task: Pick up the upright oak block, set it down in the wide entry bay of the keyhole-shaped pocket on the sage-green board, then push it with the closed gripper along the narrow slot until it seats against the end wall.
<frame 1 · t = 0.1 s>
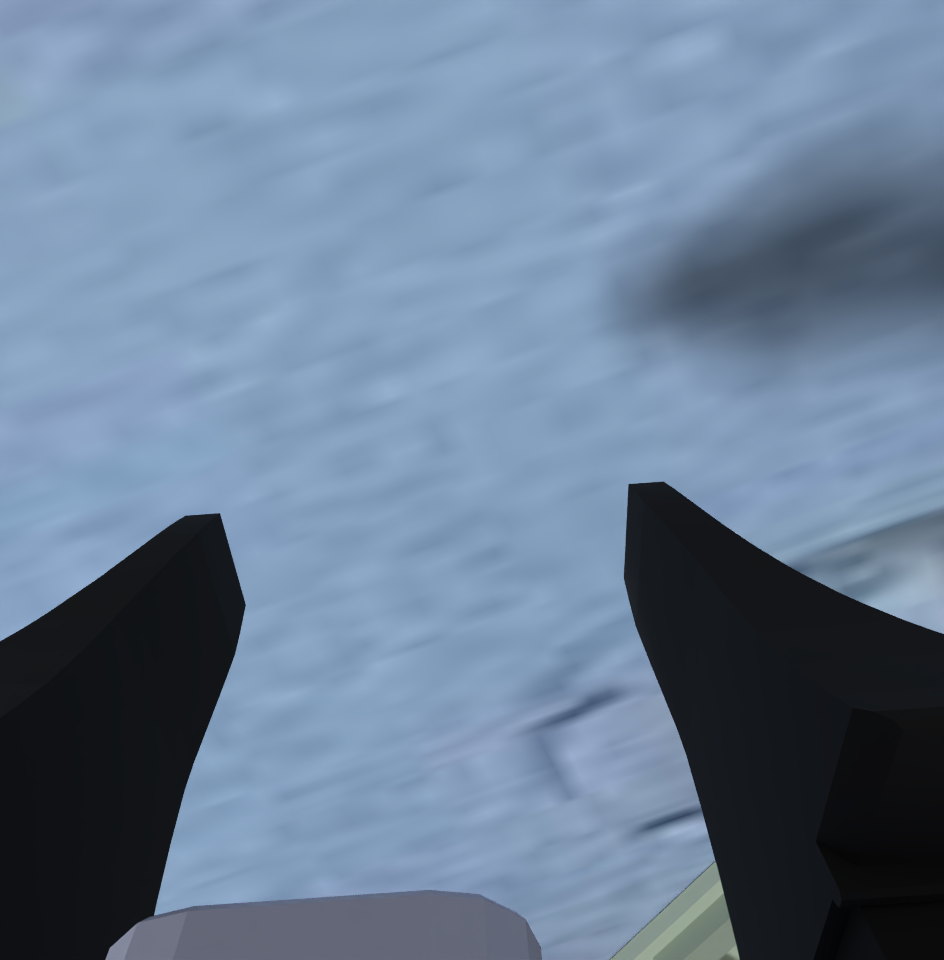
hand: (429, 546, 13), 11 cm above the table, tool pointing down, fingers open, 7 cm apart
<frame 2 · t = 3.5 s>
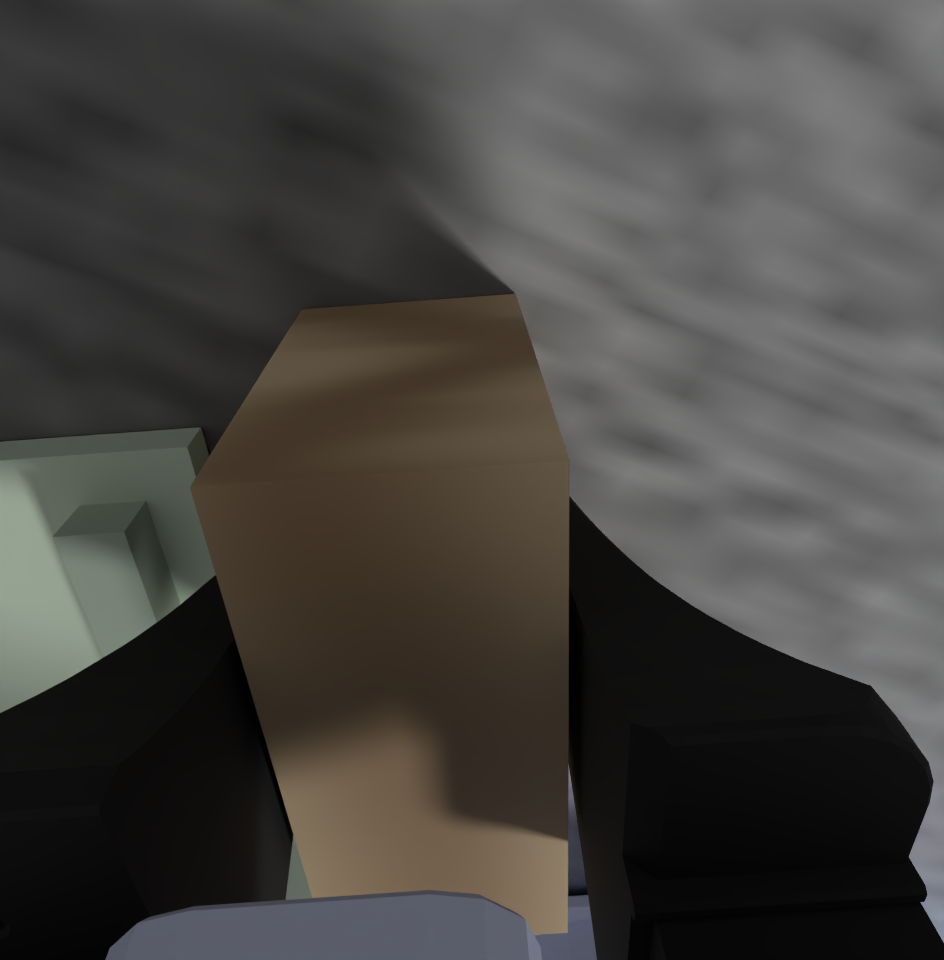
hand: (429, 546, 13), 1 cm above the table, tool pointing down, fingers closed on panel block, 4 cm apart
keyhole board: (62, 805, 18), on the table
panel block: (430, 504, 14), on the table, touching gripper
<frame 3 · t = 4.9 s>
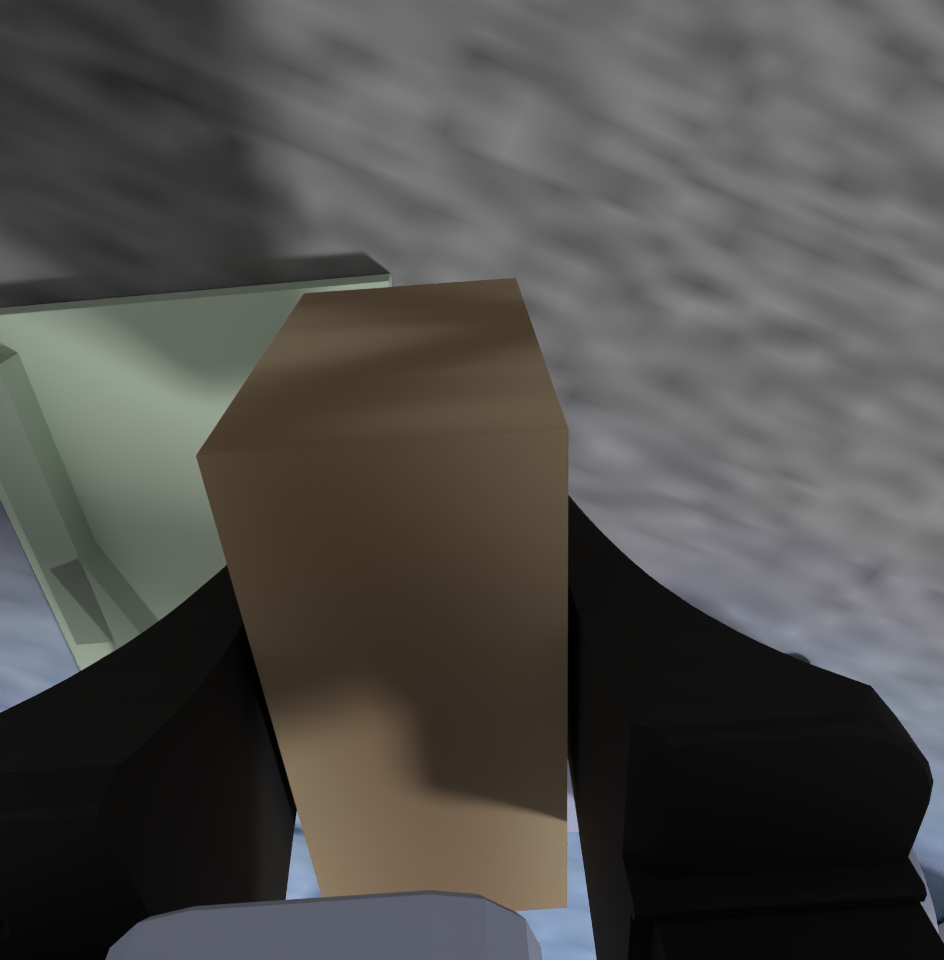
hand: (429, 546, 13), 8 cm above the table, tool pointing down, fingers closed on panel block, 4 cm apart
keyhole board: (250, 594, 24), on the table
panel block: (431, 489, 14), point 7 cm above the table, touching gripper
when the fingers open (3 cm above the table, at t = 6.3 s): panel block stays where it is, resting on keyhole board.
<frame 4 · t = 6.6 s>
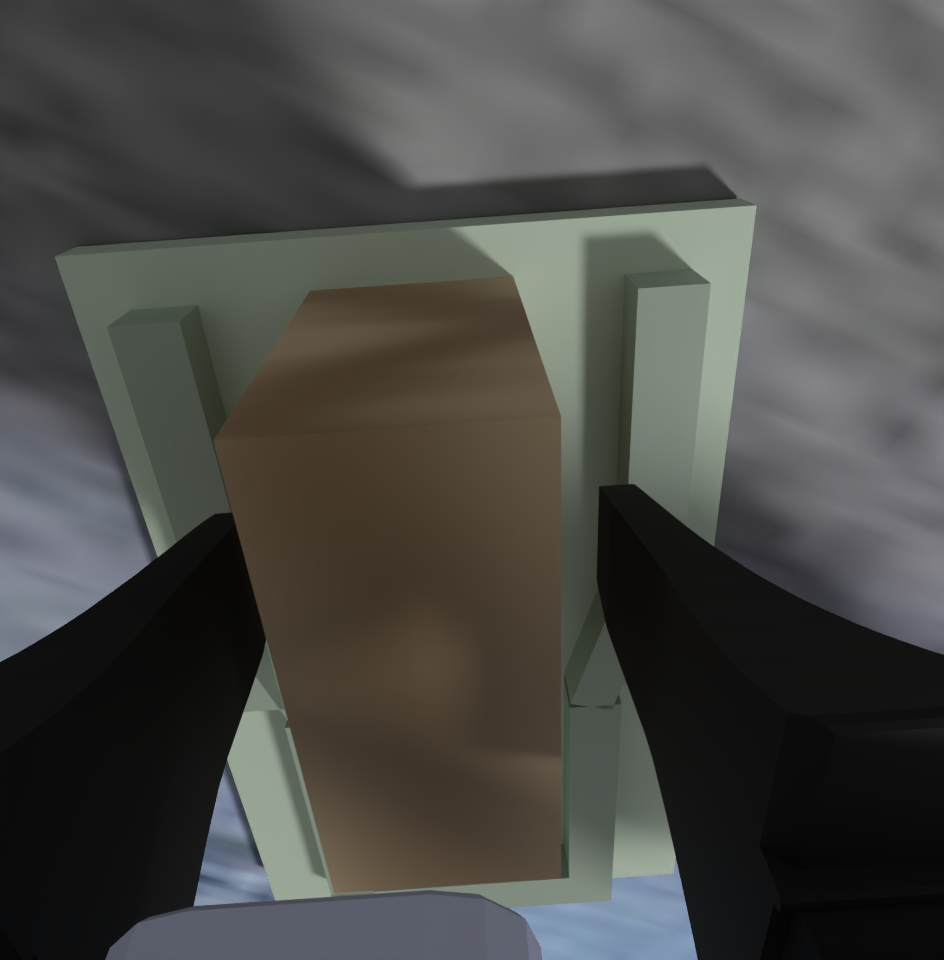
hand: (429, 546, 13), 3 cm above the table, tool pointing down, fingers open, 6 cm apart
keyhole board: (450, 642, 18), on the table
panel block: (431, 480, 15), point 1 cm above the table, touching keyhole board
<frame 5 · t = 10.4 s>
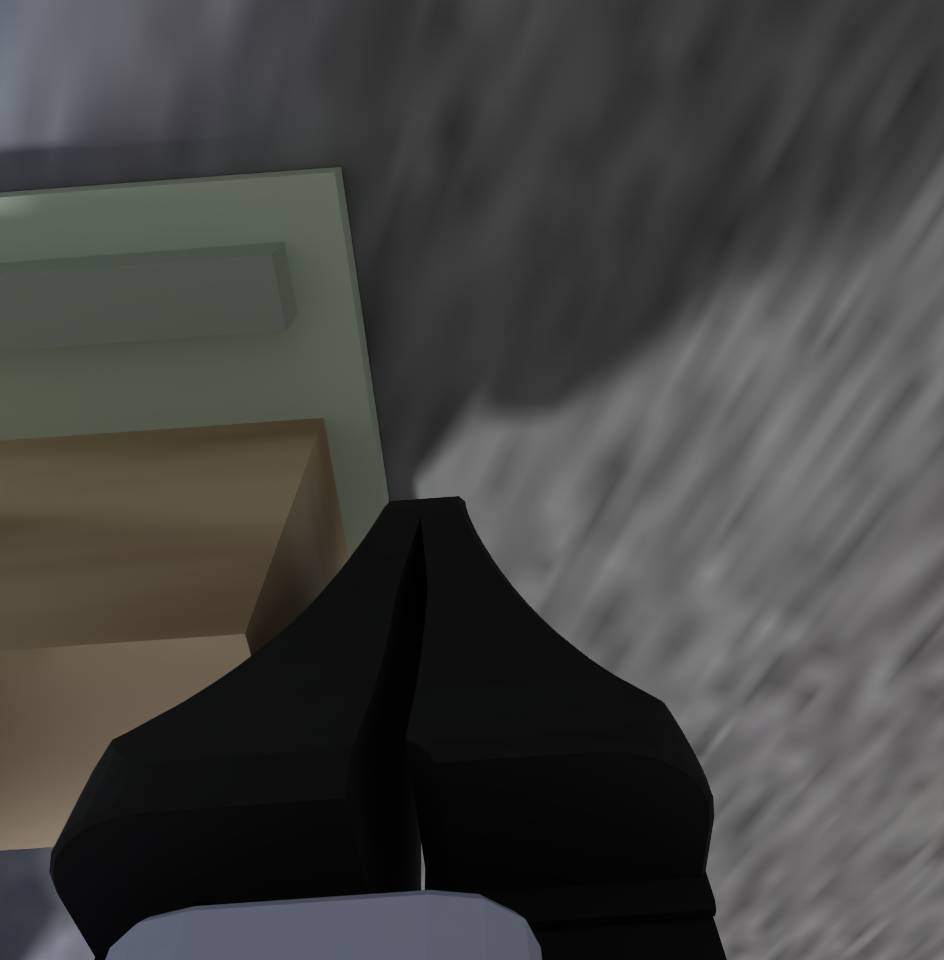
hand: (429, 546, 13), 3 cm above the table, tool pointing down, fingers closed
panel block: (140, 513, 14), point 1 cm above the table, touching gripper, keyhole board
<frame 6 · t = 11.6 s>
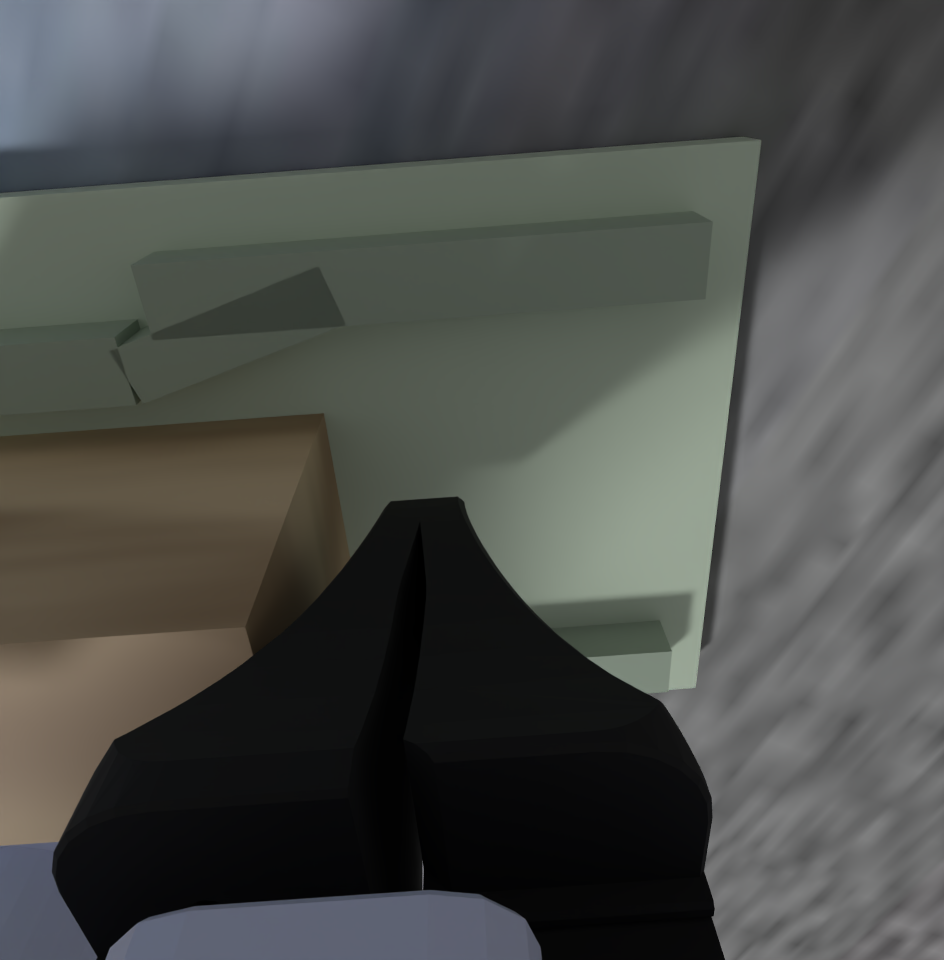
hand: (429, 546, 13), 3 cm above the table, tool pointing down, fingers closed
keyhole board: (235, 487, 15), on the table
panel block: (140, 509, 14), point 1 cm above the table, touching gripper, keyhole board
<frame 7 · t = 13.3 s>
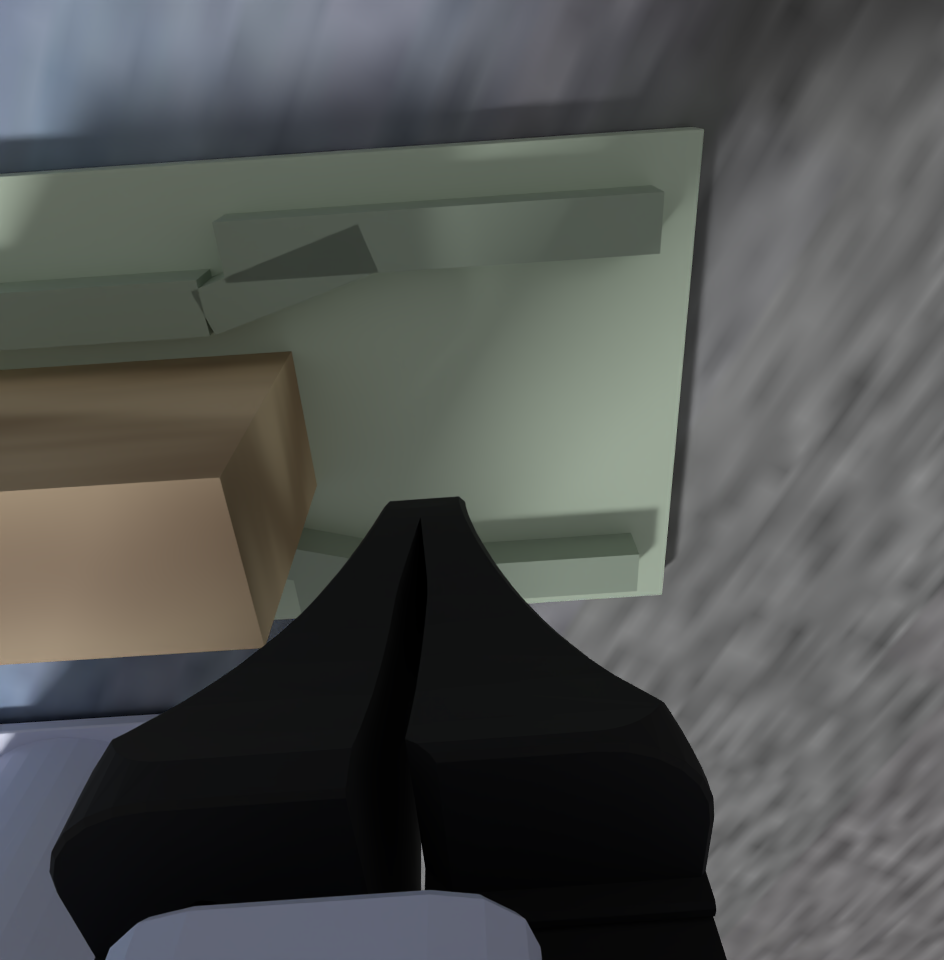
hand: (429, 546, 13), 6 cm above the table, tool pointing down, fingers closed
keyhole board: (279, 414, 18), on the table
panel block: (141, 432, 17), point 1 cm above the table, touching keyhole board
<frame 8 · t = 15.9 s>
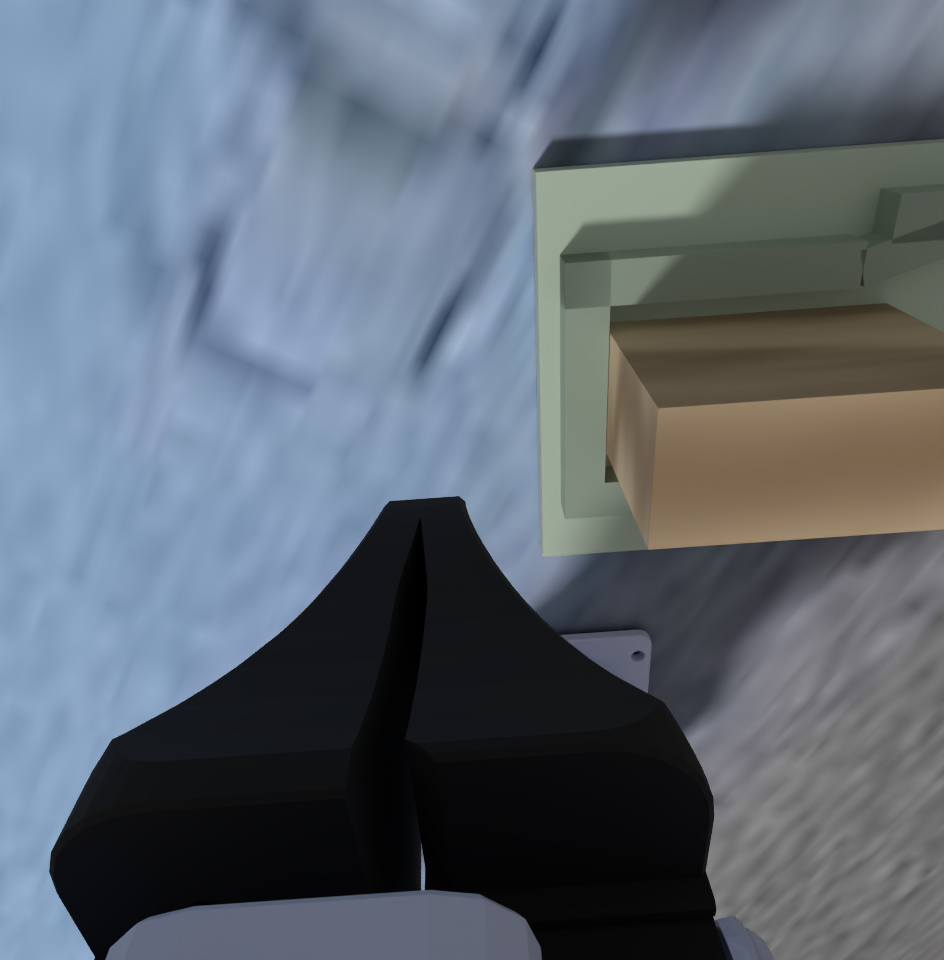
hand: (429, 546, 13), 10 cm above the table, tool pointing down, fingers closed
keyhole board: (831, 360, 22), on the table
panel block: (737, 373, 21), point 1 cm above the table, touching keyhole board
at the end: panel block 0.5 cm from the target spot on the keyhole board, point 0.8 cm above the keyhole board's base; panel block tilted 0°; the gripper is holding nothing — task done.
